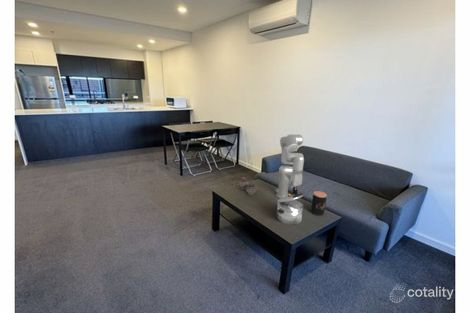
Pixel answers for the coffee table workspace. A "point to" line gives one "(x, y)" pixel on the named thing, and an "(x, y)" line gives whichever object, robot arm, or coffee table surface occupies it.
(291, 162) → the robot arm
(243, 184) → the pottery
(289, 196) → the cooker lid
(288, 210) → the cooker pot
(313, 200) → the coffee jar
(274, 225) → the coffee table surface
